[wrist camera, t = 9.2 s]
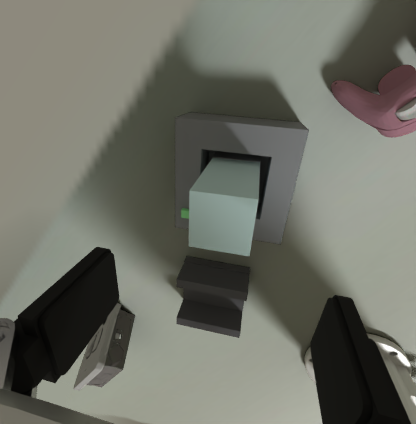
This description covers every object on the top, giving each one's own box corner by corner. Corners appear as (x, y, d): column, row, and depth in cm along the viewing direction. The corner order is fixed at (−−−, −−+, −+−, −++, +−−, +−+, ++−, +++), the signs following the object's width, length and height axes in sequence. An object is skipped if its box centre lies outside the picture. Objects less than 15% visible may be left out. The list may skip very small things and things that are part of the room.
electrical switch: (117, 298, 37) (84, 361, 29) (146, 314, 39) (121, 378, 31) (95, 325, 42) (60, 385, 34) (121, 338, 43) (94, 399, 35)
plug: (260, 154, 22) (259, 198, 13) (254, 195, 24) (249, 257, 15) (217, 150, 23) (188, 189, 14) (214, 190, 25) (187, 247, 16)
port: (300, 122, 21) (309, 131, 17) (277, 220, 26) (280, 246, 22) (190, 112, 23) (173, 118, 18) (187, 207, 27) (173, 229, 23)
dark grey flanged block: (249, 267, 30) (248, 291, 26) (241, 312, 33) (238, 338, 30) (186, 256, 31) (176, 277, 27) (185, 300, 34) (176, 324, 31)
